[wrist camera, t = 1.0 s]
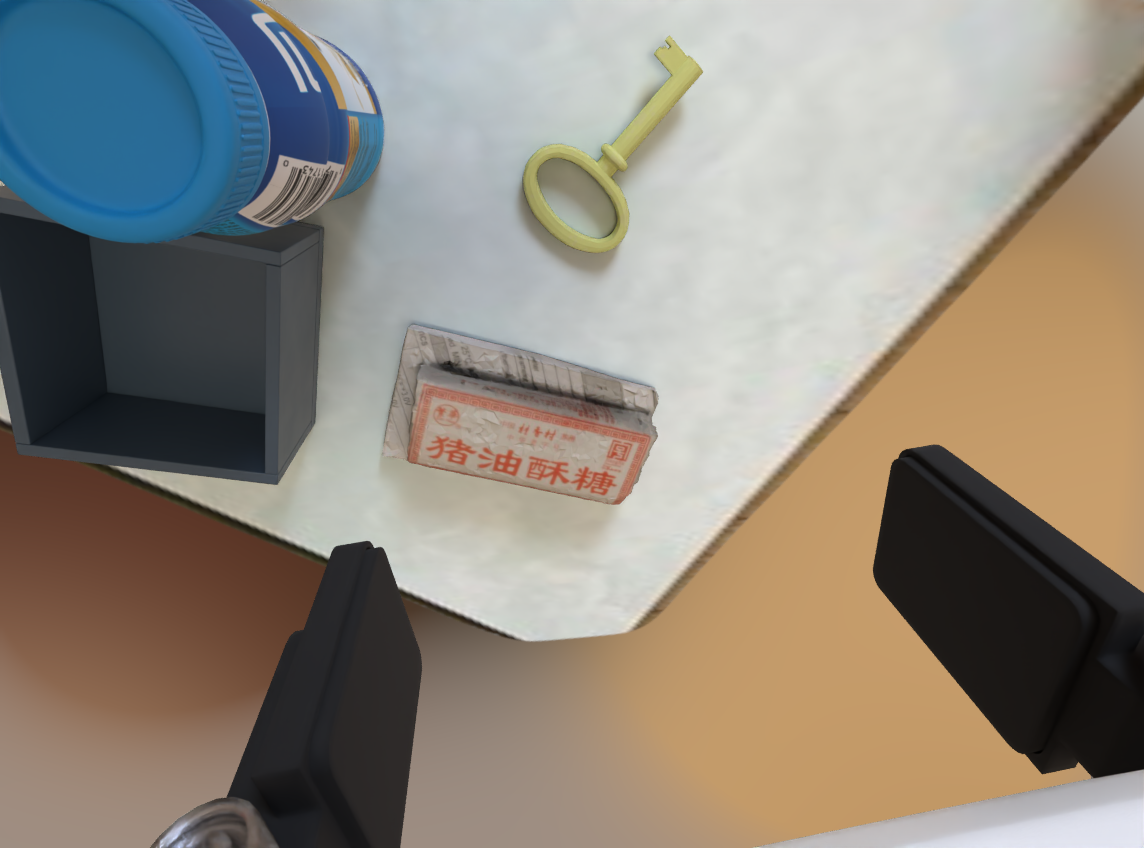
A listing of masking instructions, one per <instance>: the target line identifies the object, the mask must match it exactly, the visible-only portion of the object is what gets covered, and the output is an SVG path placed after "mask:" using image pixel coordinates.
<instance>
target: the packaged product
mask: <svg viewBox="0 0 1144 848" xmlns="http://www.w3.org/2000/svg"><path fill="white" fill-rule="evenodd" d="M657 404H658V394H657V392H656V390H655V388H651V387H648V386H644V385H640V384H636V383H632V382H628V381H624V380H620V379H617V378H614V377H611V376H608V375H604V374H601V373H598V372H595V371H592V370H589V369H586V368H583V367H579V366H576V365H573V364H570V363H566V362H563V361H560V360H557V359H553V358H550V357H547V356H544V355H540V354H536V353H532V352H528V351H524V350H519V349H515V348H511V347H507V346H503V345H498V344H494V343H490V342H486V341H482V340H477V339H473V338H469V337H465V336H461V335H456V334H452V333H448V332H444V331H440V330H435V329H431V328H426V327H422V326H417V325H411V326H410V327H408V329H407V333H406V336H405V340H404V344H403V349H402V354H401V360H400V366H399V371H398V377H397V381H396V385H395V389H394V393H393V397H392V402H391V407H390V412H389V417H388V422H387V428H386V434H385V441H384V447H383V453H382V456H387V457H394V458H399V459H404V460H407V461H408V462H410V463H414V464H419V465H422V466H426V467H430V468H436V469H441V470H446V471H451V472H456V473H460V474H465V475H470V476H475V477H481V478H486V479H491V480H495V481H500V482H505V483H510V484H515V485H520V486H525V487H530V488H535V489H539V490H543V491H549V492H554V493H558V494H564V495H568V496H573V497H578V498H582V499H586V500H593V501H597V502H602V503H606V504H612V505H616V504H620V503H621V502H622V501H623V500H624V499H625V498H626V496H628V495H629V494H631V492H632V489H633V486H634V484H636V483H637V482H638V480H639V477H640V473H641V469H642V466H644V464H645V461H646V459H647V458H648V456H649V451H650V449H651V447H652V446H653V444H654V442H655V441H656V439H657V437H658V435H657V432H656V427H655V426H653V425H652V419H651V418H652V416H653V413H654V411H655V409H656V406H657Z"/></svg>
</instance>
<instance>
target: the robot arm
mask: <svg viewBox="0 0 1144 848" xmlns="http://www.w3.org/2000/svg"><path fill="white" fill-rule="evenodd" d="M873 574H874V578H875V581H876V583H877V585H878V587H879V588H880V590H881V591H882V592H883V593H884V594H885V596H886V597H887V598H888V599H889V601H890V602H891V603H892V604H893V605H894V607H895V608H896V609H897V610H898V611H899V613H900V614H901V615H902V616H903V617H904V619H905V620H906V621H907V622H908V624H909V625H910V626H911V627H912V628H913V630H914V631H915V632H916V633H917V634H918V636H919V637H920V638H921V639H922V640H923V642H924V643H925V644H926V645H927V646H928V648H929V649H930V650H931V651H932V653H933V654H934V655H935V656H936V657H937V659H938V660H939V661H940V662H941V663H942V665H943V666H944V667H945V668H946V670H947V671H948V672H949V673H950V674H951V676H952V677H953V678H954V679H955V680H956V682H957V683H958V684H959V685H960V686H961V688H962V689H963V690H964V691H965V693H966V694H967V695H968V696H969V697H970V699H971V700H972V701H973V702H974V703H975V705H976V706H977V707H978V708H979V709H980V711H981V712H982V713H983V714H984V716H985V717H986V718H987V719H988V720H989V721H990V723H991V724H992V725H993V726H994V728H995V729H996V730H997V731H998V733H999V734H1000V735H1001V736H1002V737H1003V738H1004V740H1005V741H1006V742H1007V743H1008V744H1009V745H1010V746H1011V747H1012V749H1014V750H1015V751H1017V752H1018V753H1021V754H1025V755H1026V756H1027V757H1028V758H1029V759H1030V761H1031V762H1032V763H1033V764H1034V765H1035V766H1036V768H1037V769H1038V770H1039V771H1040V772H1041V774H1046V773H1051V772H1056V771H1060V770H1065V769H1070V768H1075V767H1076V765H1077V763H1078V762H1079V763H1080V764H1081V765H1082V766H1083V767H1084V768H1085V769H1086V771H1087V772H1088V773H1089V774H1090V775H1091V779H1089V780H1083V781H1078V782H1073V783H1068V784H1063V785H1058V786H1053V787H1049V788H1044V789H1038V790H1034V791H1028V792H1023V793H1018V794H1014V795H1008V796H1003V797H998V798H993V799H988V800H983V801H979V802H973V803H968V804H963V805H958V806H954V807H948V808H943V809H939V810H933V811H929V812H923V813H918V814H914V815H909V816H904V817H899V818H894V819H889V820H884V821H880V822H875V823H870V824H865V825H860V826H855V827H850V828H846V829H841V830H836V831H831V832H826V833H821V834H816V835H812V836H807V837H802V838H797V839H792V840H787V841H783V842H778V843H773V844H768V845H763V846H759V847H754V848H1144V593H1143V592H1141V591H1140V590H1138V589H1137V588H1136V587H1135V586H1133V585H1132V584H1130V583H1129V582H1127V581H1126V580H1125V579H1124V578H1122V577H1121V576H1119V575H1118V574H1117V573H1115V572H1114V571H1113V570H1111V569H1110V568H1108V567H1107V566H1106V565H1104V564H1103V563H1102V562H1100V561H1099V560H1098V559H1096V558H1095V557H1093V556H1092V555H1091V554H1089V553H1088V552H1087V551H1085V550H1084V549H1082V548H1081V547H1080V546H1078V545H1077V544H1076V543H1074V542H1073V541H1071V540H1070V539H1069V538H1067V537H1066V536H1065V535H1063V534H1062V533H1060V532H1059V531H1058V530H1056V529H1055V528H1053V527H1052V526H1051V525H1050V524H1048V523H1047V522H1045V521H1044V520H1043V519H1041V518H1040V517H1039V516H1037V515H1036V514H1034V513H1033V512H1032V511H1030V510H1029V509H1027V508H1026V507H1025V506H1023V505H1022V504H1021V503H1019V502H1018V501H1017V500H1015V499H1014V498H1012V497H1011V496H1010V495H1008V494H1007V493H1006V492H1004V491H1003V490H1001V489H1000V488H999V487H997V486H996V485H995V484H993V483H992V482H990V481H989V480H988V479H986V478H985V477H984V476H982V475H981V474H980V473H978V472H977V471H975V470H974V469H973V468H971V467H970V466H969V465H967V464H966V463H964V462H963V461H962V460H960V459H959V458H958V457H956V456H955V455H953V454H952V453H951V452H949V451H948V450H946V449H945V448H944V447H942V446H940V445H929V446H923V447H917V448H911V449H906V450H904V451H902V452H901V453H900V455H899V458H898V459H896V460H894V462H893V463H892V465H891V470H890V476H889V482H888V487H887V492H886V498H885V504H884V509H883V515H882V520H881V527H880V532H879V537H878V543H877V549H876V554H875V560H874V566H873ZM421 672H422V661H421V654H420V650H419V647H418V644H417V641H416V638H415V636H414V633H413V630H412V627H411V624H410V621H409V618H408V616H407V613H406V610H405V607H404V604H403V601H402V598H401V595H400V593H399V590H398V587H397V584H396V581H395V578H394V576H393V573H392V570H391V567H390V564H389V561H388V558H387V556H386V553H385V551H384V549H383V548H382V547H378V548H374V547H373V545H372V543H371V542H370V541H364V542H358V543H352V544H346V545H340V546H336V547H335V548H334V549H333V551H332V553H331V556H330V559H329V561H328V564H327V567H326V570H325V573H324V575H323V578H322V581H321V584H320V586H319V589H318V592H317V595H316V597H315V600H314V603H313V606H312V609H311V611H310V614H309V617H308V620H307V622H306V625H305V628H304V630H300V631H295V632H294V633H293V634H292V635H291V636H290V637H289V639H288V641H287V643H286V645H285V648H284V650H283V653H282V655H281V658H280V661H279V663H278V666H277V668H276V671H275V674H274V676H273V679H272V681H271V684H270V687H269V689H268V692H267V695H266V697H265V700H264V702H263V705H262V707H261V710H260V712H259V715H258V718H257V720H256V723H255V726H254V728H253V731H252V733H251V736H250V738H249V741H248V744H247V746H246V749H245V751H244V754H243V756H242V759H241V762H240V764H239V767H238V770H237V772H236V775H235V777H234V780H233V782H232V785H231V788H230V790H229V793H228V795H227V798H219V799H215V800H213V801H210V802H207V803H205V804H203V805H200V806H198V807H196V808H194V809H193V810H191V811H190V812H188V813H187V814H185V815H183V816H182V817H180V818H179V819H177V820H176V821H175V822H174V823H173V824H172V825H171V826H170V827H169V828H168V829H167V830H165V831H164V832H163V833H162V834H161V835H160V836H159V837H158V838H157V839H156V841H155V842H154V843H153V844H152V846H151V847H150V848H400V844H401V836H402V828H403V820H404V812H405V804H406V795H407V787H408V779H409V771H410V763H411V755H412V746H413V738H414V729H415V721H416V713H417V706H418V697H419V689H420V681H421Z"/></svg>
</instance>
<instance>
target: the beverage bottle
mask: <svg viewBox="0 0 1144 848" xmlns="http://www.w3.org/2000/svg"><path fill="white" fill-rule="evenodd" d="M383 143H384V121H383V115H382V110H381V107H380V103H379V100H378V98H377V95H376V93H375V91H374V89H373V87H372V85H371V83H370V81H369V80H368V78H367V77H366V75H365V74H364V72H363V71H362V70H361V69H360V67H359V66H358V65H357V64H356V63H355V62H354V61H353V60H352V59H351V58H350V57H349V56H348V55H347V54H346V53H344V52H343V51H342V50H340V49H339V48H338V47H336V46H335V45H333V44H331V43H330V42H328V41H326V40H324V39H322V38H320V37H317V36H315V35H313V34H311V33H309V32H307V31H305V30H304V29H302V28H300V27H298V26H297V25H296V24H294V23H293V22H292V21H291V20H290V19H288V18H287V17H286V16H284V15H283V14H281V13H280V12H279V11H277V10H275V9H274V8H272V7H271V6H269V5H267V4H265V3H263V2H261V1H259V0H0V180H1V181H2V182H3V183H4V184H5V185H6V186H7V187H8V188H9V189H10V190H11V191H13V192H14V193H15V194H16V195H17V196H19V197H20V198H21V199H22V200H24V201H25V202H26V203H28V204H29V205H30V206H32V207H33V208H35V209H36V210H38V211H39V212H41V213H42V214H44V215H46V216H47V217H49V218H51V219H52V220H54V221H56V222H58V223H60V224H62V225H64V226H66V227H69V228H71V229H73V230H76V231H78V232H81V233H84V234H87V235H90V236H93V237H97V238H101V239H105V240H110V241H116V242H125V243H145V244H149V243H152V242H154V243H160V242H163V241H166V242H169V241H172V240H177V239H180V238H183V237H186V236H189V235H192V234H195V233H198V232H200V231H201V232H205V233H210V234H217V235H228V236H239V235H250V234H256V233H260V232H264V231H267V230H270V229H273V228H275V227H280V226H284V225H288V224H291V223H294V222H296V221H299V220H301V219H303V218H305V217H307V216H309V215H310V214H312V213H313V212H315V211H316V210H317V209H319V208H320V207H321V206H322V205H323V204H324V203H326V202H328V201H331V200H333V199H337V198H340V197H343V196H345V195H347V194H349V193H351V192H353V191H355V190H356V189H358V188H359V187H360V186H361V185H363V184H364V183H365V182H366V181H367V180H368V178H369V177H370V176H371V174H372V173H373V172H374V170H375V168H376V166H377V164H378V162H379V159H380V157H381V153H382V149H383Z"/></svg>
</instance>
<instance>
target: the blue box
mask: <svg viewBox="0 0 1144 848" xmlns="http://www.w3.org/2000/svg"><path fill="white" fill-rule="evenodd" d="M323 234H324V227H320V226H315V225H310V224H306V223H301V222H294V223H291V224H288V225H284V226H280V227H275V228H273V229H270V230H267V231H264V232H260V233H256V234H250V235H239V236H228V235H217V234H210V233H205V232H201V231H200V232H198V233H195V234H192V235H189V236H186V237H183V238H180V239H177V240H172V241H169V242H166V241H163V242H160V243H154V242H152V243H149V244H145V243H125V242H116V241H110V240H105V239H101V238H97V237H93V236H90V235H87V234H84V233H81V232H78V231H76V230H73V229H71V228H69V227H66V226H64V225H62V224H60V223H58V222H56V221H54V220H52V219H51V218H49V217H47V216H46V215H44V214H42V213H41V212H39V211H38V210H36V209H35V208H33V207H32V206H30V205H29V204H28V203H26V202H25V201H24V200H22V199H21V198H20V197H19V196H17V195H16V194H15V193H14V192H13V191H11V190H10V189H9V188H8V187H7V186H0V369H1V374H2V379H3V384H4V389H5V394H6V399H7V404H8V409H9V413H10V418H11V423H12V428H13V433H14V438H15V442H16V448H17V452H18V454H20V455H28V456H37V457H45V458H54V459H62V460H71V461H79V462H87V463H96V464H104V465H113V466H121V467H130V468H138V469H147V470H155V471H164V472H172V473H181V474H189V475H198V476H206V477H215V478H223V479H232V480H240V481H248V482H257V483H265V484H274V485H277V484H278V483H279V481H280V480H281V478H282V476H283V475H284V473H285V471H286V470H287V468H288V466H289V465H290V463H291V462H292V460H293V458H294V457H295V455H296V453H297V452H298V450H299V448H300V447H301V445H302V443H303V442H304V440H305V438H306V437H307V435H308V433H309V432H310V430H311V429H312V427H313V426H314V424H315V415H316V393H317V370H318V347H319V325H320V302H321V280H322V257H323Z"/></svg>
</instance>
